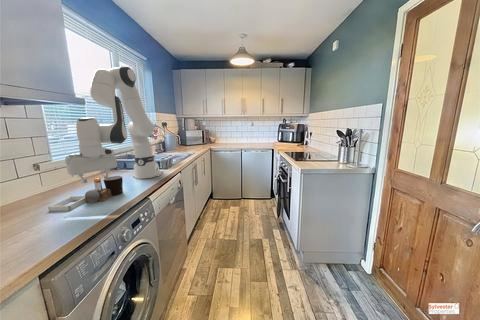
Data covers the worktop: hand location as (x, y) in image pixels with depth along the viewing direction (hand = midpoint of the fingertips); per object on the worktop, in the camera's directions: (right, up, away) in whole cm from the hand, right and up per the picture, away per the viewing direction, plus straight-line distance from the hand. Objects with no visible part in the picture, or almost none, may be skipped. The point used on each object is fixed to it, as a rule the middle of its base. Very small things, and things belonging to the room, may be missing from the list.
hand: (95, 180), depth 102 cm
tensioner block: (+1, -10, +2) cm, 10 cm away
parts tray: (-8, -12, -5) cm, 15 cm away
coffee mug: (+5, -9, +10) cm, 14 cm away
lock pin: (+1, -9, +2) cm, 9 cm away
